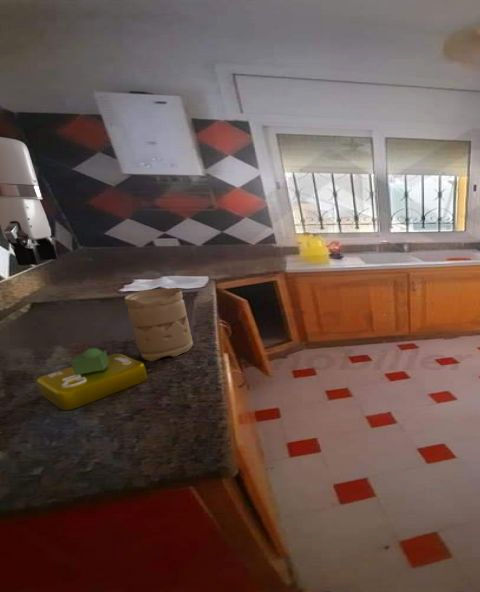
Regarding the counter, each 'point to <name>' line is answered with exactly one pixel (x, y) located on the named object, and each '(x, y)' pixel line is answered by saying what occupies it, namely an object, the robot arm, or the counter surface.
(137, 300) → the container
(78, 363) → the toy
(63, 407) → the element tile
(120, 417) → the counter surface
